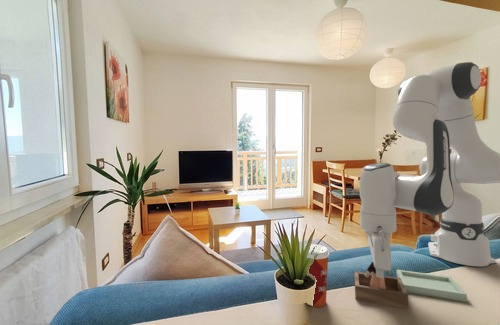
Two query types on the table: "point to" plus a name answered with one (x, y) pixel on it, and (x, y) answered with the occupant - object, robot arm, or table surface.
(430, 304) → the table surface
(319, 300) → the red shaker can
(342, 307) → the table surface
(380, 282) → the grandmother figurine
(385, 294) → the holder
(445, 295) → the tray
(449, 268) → the table surface
